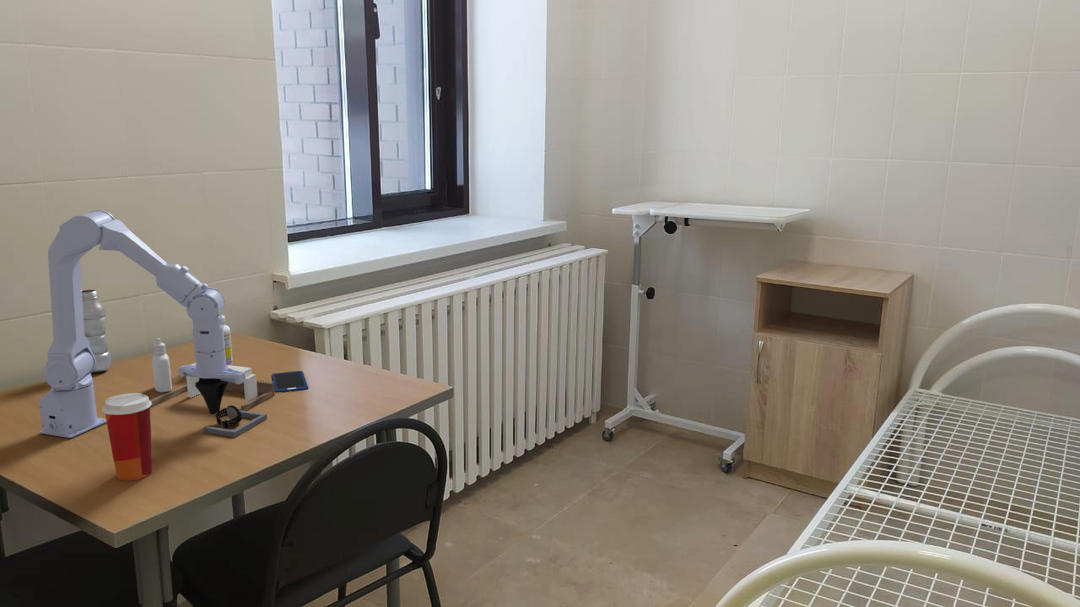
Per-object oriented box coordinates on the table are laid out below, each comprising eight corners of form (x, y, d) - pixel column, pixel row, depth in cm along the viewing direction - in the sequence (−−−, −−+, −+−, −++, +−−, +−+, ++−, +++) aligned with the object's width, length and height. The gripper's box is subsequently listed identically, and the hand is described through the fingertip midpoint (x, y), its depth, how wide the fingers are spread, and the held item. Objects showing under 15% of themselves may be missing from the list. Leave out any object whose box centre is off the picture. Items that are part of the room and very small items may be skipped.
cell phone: (275, 394, 186) (275, 391, 186) (271, 376, 199) (271, 373, 199) (308, 391, 189) (308, 387, 189) (302, 373, 202) (302, 370, 201)
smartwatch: (223, 422, 171) (245, 424, 170) (209, 427, 166) (231, 429, 165) (224, 402, 170) (246, 404, 169) (209, 407, 165) (232, 409, 164)
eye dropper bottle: (177, 384, 191) (172, 335, 188) (169, 392, 185) (164, 342, 182) (157, 385, 190) (152, 335, 187) (149, 393, 185) (144, 342, 182)
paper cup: (145, 461, 150) (138, 388, 147) (166, 473, 145) (159, 398, 142) (101, 475, 144) (92, 400, 141) (121, 488, 139) (112, 410, 136)
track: (212, 428, 165) (211, 414, 165) (128, 415, 171) (127, 402, 171) (274, 395, 185) (273, 382, 184) (197, 384, 191) (196, 372, 190)
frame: (235, 437, 161) (234, 432, 161) (203, 432, 163) (203, 427, 163) (267, 418, 171) (266, 414, 171) (237, 414, 173) (236, 409, 173)
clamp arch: (249, 405, 178) (247, 372, 176) (188, 397, 183) (185, 364, 181) (257, 401, 181) (255, 368, 179) (197, 392, 185) (194, 360, 184)
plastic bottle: (82, 369, 201) (72, 289, 196) (113, 366, 203) (104, 287, 199) (80, 377, 195) (70, 295, 190) (111, 373, 198) (102, 292, 193)
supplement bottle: (205, 363, 206) (201, 314, 203) (233, 361, 208) (230, 312, 205) (203, 371, 200) (199, 321, 197) (232, 369, 202) (228, 319, 199)
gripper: (252, 347, 167) (257, 410, 170) (193, 340, 171) (198, 401, 174) (230, 357, 160) (235, 422, 163) (169, 349, 164) (175, 413, 167)
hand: (214, 412), depth 168 cm, fingers closed
